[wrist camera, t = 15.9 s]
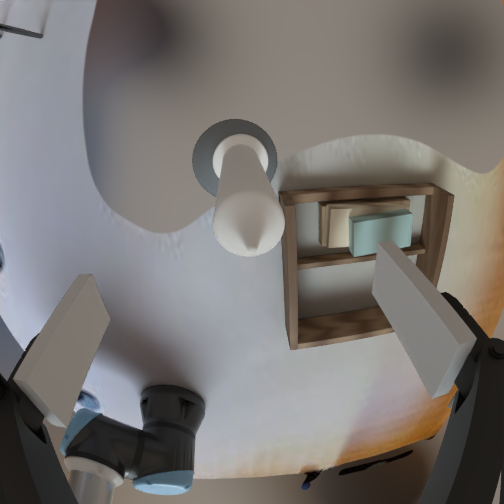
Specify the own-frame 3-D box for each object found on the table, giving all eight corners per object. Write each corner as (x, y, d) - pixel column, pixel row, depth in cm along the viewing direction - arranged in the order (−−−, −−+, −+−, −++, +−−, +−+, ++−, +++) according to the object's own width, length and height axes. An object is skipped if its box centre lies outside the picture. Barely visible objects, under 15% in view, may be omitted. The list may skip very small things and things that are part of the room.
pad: (199, 204, 41) (198, 205, 40) (187, 125, 36) (186, 125, 35) (279, 195, 41) (280, 196, 40) (273, 115, 36) (273, 115, 35)
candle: (273, 179, 39) (326, 287, 17) (221, 192, 40) (209, 316, 18) (260, 127, 36) (306, 168, 14) (206, 142, 36) (164, 206, 14)
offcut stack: (318, 240, 44) (329, 260, 39) (318, 200, 42) (330, 215, 36) (400, 231, 44) (418, 248, 39) (403, 194, 42) (424, 208, 36)
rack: (285, 325, 52) (290, 350, 47) (278, 191, 41) (285, 206, 35) (411, 304, 52) (425, 324, 47) (432, 183, 41) (454, 195, 35)
